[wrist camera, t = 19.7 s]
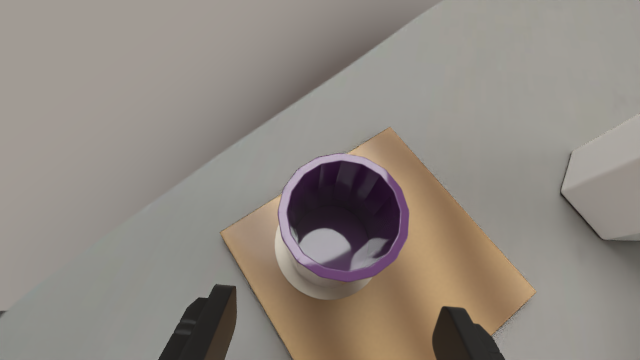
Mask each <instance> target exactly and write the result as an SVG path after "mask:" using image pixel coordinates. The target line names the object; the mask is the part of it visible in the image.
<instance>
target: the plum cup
mask: <svg viewBox="0 0 640 360" xmlns="http://www.w3.org/2000/svg"><path fill="white" fill-rule="evenodd" d="M277 215H278V221H279V226H280V232H281V238H282V240H283V243H284V246H285V248H286V251H287V254H288V257H289V259H290V261H291V263H292V264H293V266H294V268H295V269H296V271H297V272H298V274H299V275H300V276H301V277H303V278H304V279H305V280H306V281H308V282H310V283H311V284H313V285H315V286H319V287H323V288H330V289H335V288H339V287H343V286H348V285H351V284H354V283H357V282H360V281H363V280H365V279H368V278H371V277H374V276H376V275H377V274H378V273H380V272H381V271H382V270H384V269H385V268H386V267H388V266H389V265H390V264H391V263H393V262H394V261H395V260H396V259H397V257H398V255H399V253H400V251H401V249H402V248H403V246H404V244H405V242H406V240H407V238H408V228H409V209H408V206H407V203H406V200H405V197H404V194H403V191H402V189H401V187H400V186H399V185H398V183H397V182H396V181H395V180H394V179H393V177H392V176H391V175H390V174H389V173H388V171H387V170H385V169H384V168H383V167H381V166H379V165H377V164H376V163H374V162H372V161H371V160H369V159H367V158H364V157H361V156H356V155H350V154H345V153H337V154H332V155H326V156H321V157H317V158H315V159H314V160H312V161H310V162H309V163H307V164H305V165H304V166H302V167H300V168H299V169H298V170H296V172H295V173H294V174H293V176H292V177H291V179H290V180H289V181H288V183H287V184H286V185H285V187H284V188H283V191H282V195H281V199H280V203H279V207H278V213H277Z"/></svg>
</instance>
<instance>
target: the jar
mask: <svg viewBox="0 0 640 360" xmlns="http://www.w3.org/2000/svg"><path fill="white" fill-rule="evenodd" d="M561 193H562V194H563V195H564V196H565V198H566V199H567V200H568V201H569V202H570V203H571V204H572V206H573V207H574V208H575V209H576V210H577V211H578V212H579V213H580V215H581V216H582V217H583V218H584V219H585V220H586V221H587V222H588V224H589V225H590V226H591V227H592V228H593V229H594V230H595V232H596V233H597V234H598V235H599V236H600V237H601V238H602V239H604V240H633V241H640V113H639V114H638V115H636V116H634V117H632V118H630V119H629V120H627V121H625V122H623V123H621V124H620V125H618V126H616V127H614V128H613V129H611V130H609V131H607V132H605V133H604V134H602V135H600V136H598V137H596V138H595V139H593V140H591V141H589V142H588V143H586V144H584V145H582V146H580V147H579V148H577V149H575V150H574V151H572V154H571V158H570V161H569V165H568V168H567V172H566V175H565V179H564V182H563V185H562V189H561Z"/></svg>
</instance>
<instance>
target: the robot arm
mask: <svg viewBox="0 0 640 360" xmlns="http://www.w3.org/2000/svg"><path fill="white" fill-rule="evenodd" d="M236 318H237V305H236V286H230V285H219V284H216V285H215V286H214V287H213V289H212V291H211V293H210V295H209V297H208V298H198V299H196V300H195V301H194V302H193V303H192V304H191V305H190V306H189V307H187V309H186V311H185V313H184V314H183V316H182V318H181V320H180V323H178V325H177V327H176V329H175V330H174V334H172V336H171V338H170V339H169V341H168V343H167V345H166V347H165V348H164V350H163V352H162V354H161V356H160V357H159V359H158V360H224V359H225V356H226V354H227V351H228V348H229V345H230V342H231V339H232V336H233V333H234V329H235V325H236ZM432 346H433V351H434V354H435V357H436V359H437V360H505V359H504V357H503V355H502V353H500V350H499V348H498V347H497V345H496V343H495V341H494V340H493V338H492V336H491V335H490V334H489V333H488V332H487V331H486V330H485V329H484V328H483V327H482V326H481V325H480V324H475V323H473V321H472V320H471V318H470V316H469V314H468V312H467V311H466V309H465V308H461V307H450V306H443V307H442V308H441V310H440V313H439V316H438V319H437V322H436V325H435V328H434V331H433V335H432Z"/></svg>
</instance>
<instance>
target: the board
mask: <svg viewBox="0 0 640 360" xmlns="http://www.w3.org/2000/svg"><path fill="white" fill-rule="evenodd" d="M347 154H350V155H356V156H361V157H364V158H367V159H369V160H371V161H372V162H374V163H376V164H377V165H379V166H381V167H383V168H384V169H385V170H387V171H388V173H389V174H390V175H391V176H392V177H393V179H394V180H395V181H396V182H397V183H398V185H399V186H400V187H401V189H402V191H403V194H404V197H405V200H406V203H407V206H408V209H409V228H408V238H407V240H406V242H405V244H404V246H403V248H402V249H401V251H400V253H399V255H398V257H397V259H396V260H395V261H394V262H393V263H391V264H390V265H389V266H388V267H386V268H385V269H384V270H382V271H381V272H380V273H378V274H377V275H376V276H374V277H371V278H368V279H365V280H363V281H360V282H357V283H354V284H351V285H348V286H343V287H339V288H335V289H330V288H323V287H319V286H315V285H313V284H311V283H310V282H308V281H306V280H305V279H304V278H303V277H301V276H300V275H299V274H298V272H297V271H296V269H295V268H294V266H293V264H292V263H291V261H290V259H289V257H288V254H287V251H286V248H285V246H284V243H283V240H282V238H281V232H280V226H279V221H278V215H277V213H278V207H279V203H280V199H281V195H282V194H281V195H279V196H278V197H276V198H274V199H273V200H271V201H270V202H268V203H266V204H265V205H263V206H261V207H260V208H258V209H257V210H255V211H253V212H252V213H250V214H249V215H247V216H245V217H244V218H242V219H241V220H239V221H237V222H236V223H234V224H232V225H231V226H229V227H228V228H226V229H224V230H223V231H221V232H220V234H221V236H222V238H223V239H224V241H225V243H226V245H227V246H228V248H229V250H230V252H231V253H232V255H233V257H234V258H235V260H236V262H237V264H238V265H239V267H240V269H241V270H242V272H243V274H244V276H245V277H246V279H247V281H248V282H249V284H250V286H251V288H252V289H253V291H254V293H255V294H256V296H257V298H258V300H259V301H260V303H261V305H262V307H263V308H264V310H265V312H266V313H267V315H268V317H269V319H270V320H271V322H272V324H273V325H274V327H275V329H276V331H277V332H278V334H279V336H280V337H281V339H282V341H283V343H284V344H285V346H286V348H287V349H288V351H289V353H290V355H291V356H292V358H293V360H437V359H436V357H435V354H434V351H433V346H432V335H433V331H434V328H435V325H436V322H437V319H438V316H439V313H440V310H441V308H442V307H443V306H450V307H461V308H465V309H466V311H467V312H468V314H469V316H470V318H471V320H472V321H473V323H475V324H480V325H481V326H482V327H483V328H484V329H485V330H486V331H487V332H488V333H489V334H490V335H492V334H493V333H495V332H496V331H497V330H498V329H499V328H500V327H501V326H502V325H503V324H504V323H505V322H506V321H507V320H508V319H509V318H510V317H511V316H512V315H513V314H514V313H515V312H516V311H517V310H518V309H520V308H521V307H522V306H523V305H524V304H525V303H526V302H527V301H528V300H529V299H530V298H531V297H532V296H533V295H534V294H535V293H536V291H535V289H534V288H533V287H532V286H531V285H530V284H529V283H528V282H527V280H526V279H525V278H524V277H523V276H522V275H521V274H520V273H519V271H518V270H517V269H516V268H515V267H514V266H513V265H512V264H511V262H510V261H509V260H508V259H507V258H506V257H505V256H504V255H503V253H502V252H501V251H500V250H499V249H498V248H497V247H496V246H495V244H494V243H493V242H492V241H491V240H490V239H489V238H488V237H487V235H486V234H485V233H484V232H483V231H482V230H481V229H480V228H479V226H478V225H477V224H476V223H475V222H474V221H473V220H472V218H471V217H470V216H469V215H468V214H467V213H466V212H465V211H464V209H463V208H462V207H461V206H460V205H459V204H458V203H457V202H456V200H455V199H454V198H453V197H452V196H451V195H450V194H449V193H448V191H447V190H446V189H445V188H444V187H443V186H442V185H441V184H440V182H439V181H438V180H437V179H436V178H435V177H434V176H433V175H432V173H431V172H430V171H429V170H428V169H427V168H426V167H425V166H424V164H423V163H422V162H421V161H420V160H419V159H418V158H417V157H416V155H415V154H414V153H413V152H412V151H411V150H410V149H409V148H408V146H407V145H406V144H405V143H404V142H403V141H402V140H401V139H400V137H399V136H398V135H397V134H396V133H395V132H394V131H393V130H392V128H391V127H389V128H387V129H386V130H384V131H382V132H381V133H379V134H378V135H376V136H374V137H373V138H371V139H369V140H368V141H366V142H365V143H363V144H361V145H360V146H358V147H357V148H355V149H353V150H352V151H350V152H349V153H347Z"/></svg>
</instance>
